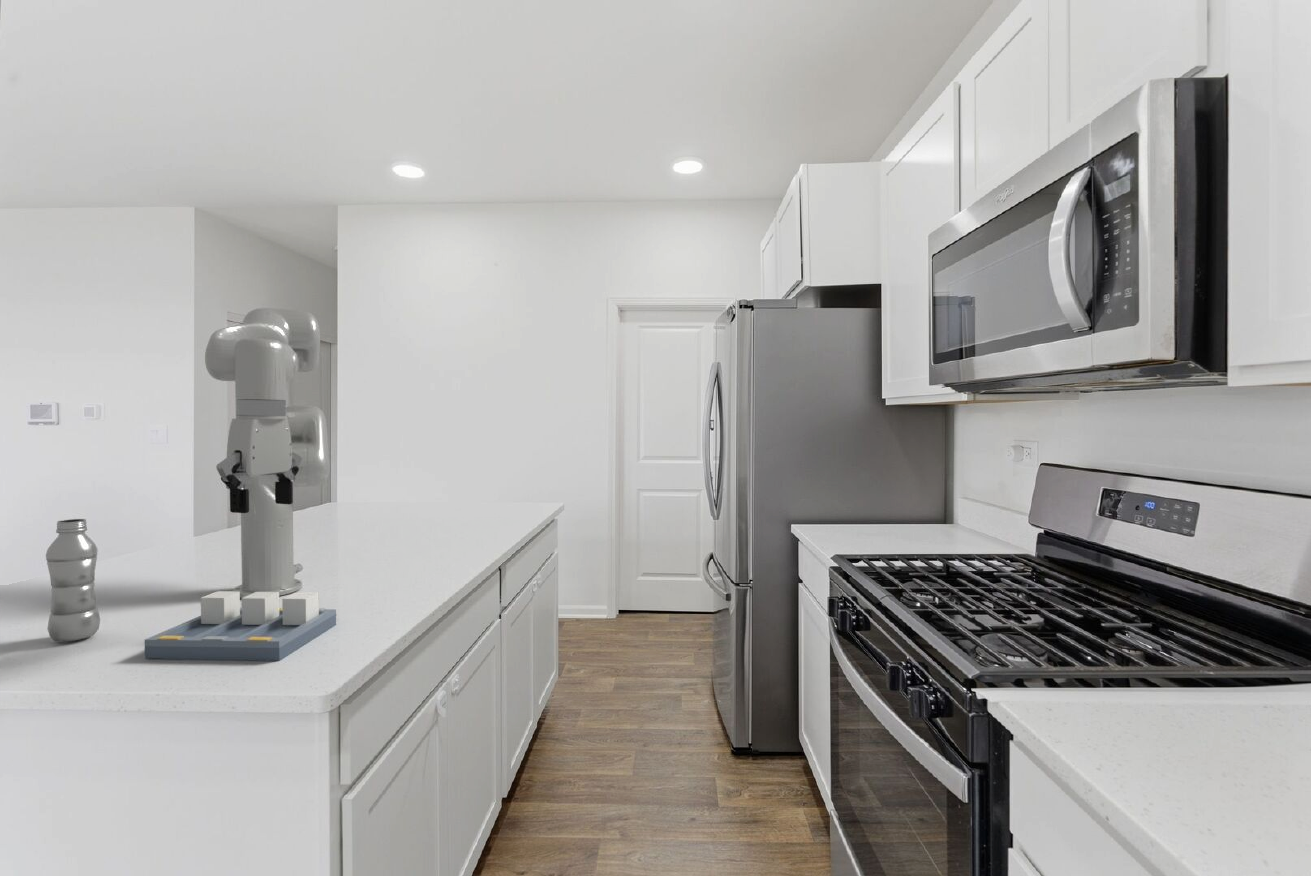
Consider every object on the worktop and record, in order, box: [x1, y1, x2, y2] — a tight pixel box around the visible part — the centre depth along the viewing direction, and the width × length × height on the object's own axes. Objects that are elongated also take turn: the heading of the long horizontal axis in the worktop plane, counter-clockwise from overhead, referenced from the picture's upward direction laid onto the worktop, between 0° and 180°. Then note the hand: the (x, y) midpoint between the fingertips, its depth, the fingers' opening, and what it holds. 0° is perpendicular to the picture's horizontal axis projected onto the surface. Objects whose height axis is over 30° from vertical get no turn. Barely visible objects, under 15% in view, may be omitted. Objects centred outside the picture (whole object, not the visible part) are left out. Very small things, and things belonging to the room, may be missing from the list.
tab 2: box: [241, 592, 280, 625], centre depth 111 cm, size 4×4×4 cm
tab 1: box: [200, 590, 241, 624], centre depth 111 cm, size 4×4×4 cm
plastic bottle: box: [45, 518, 101, 642], centre depth 107 cm, size 6×7×20 cm
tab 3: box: [281, 591, 320, 625], centre depth 111 cm, size 4×4×4 cm
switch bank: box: [144, 606, 337, 662], centre depth 107 cm, size 17×21×3 cm
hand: (262, 507), depth 112 cm, fingers open, 9 cm apart
